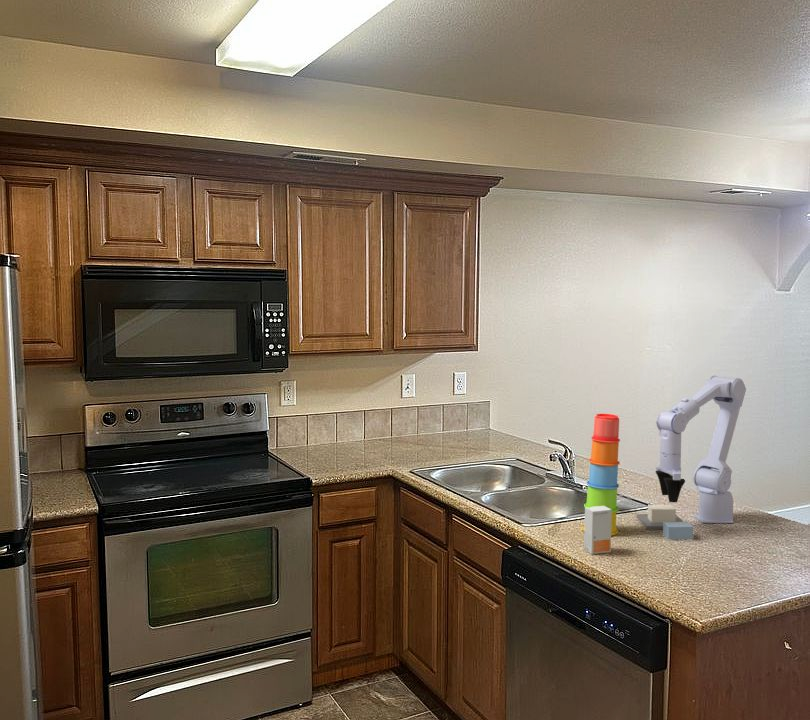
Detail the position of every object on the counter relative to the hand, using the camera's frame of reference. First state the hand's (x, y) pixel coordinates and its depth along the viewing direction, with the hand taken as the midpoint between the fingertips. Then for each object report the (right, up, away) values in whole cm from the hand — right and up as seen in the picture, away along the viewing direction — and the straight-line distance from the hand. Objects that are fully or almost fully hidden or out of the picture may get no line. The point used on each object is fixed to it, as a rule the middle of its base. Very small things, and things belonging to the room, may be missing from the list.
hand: (669, 498), depth 224 cm
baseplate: (0, -9, +7) cm, 11 cm away
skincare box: (-25, -12, -16) cm, 32 cm away
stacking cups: (-20, -10, 0) cm, 23 cm away
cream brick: (0, -8, +7) cm, 11 cm away
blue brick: (0, -10, -6) cm, 12 cm away
